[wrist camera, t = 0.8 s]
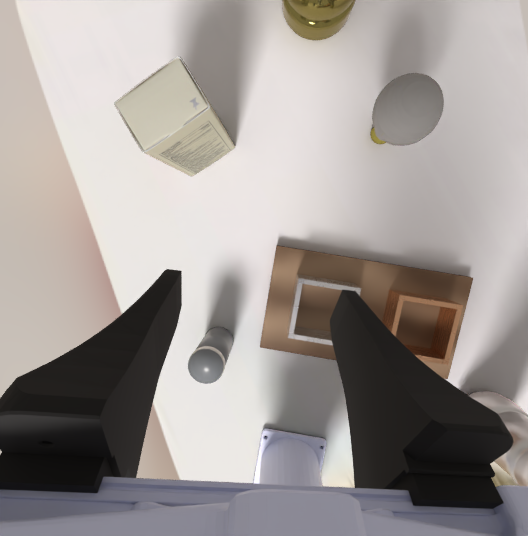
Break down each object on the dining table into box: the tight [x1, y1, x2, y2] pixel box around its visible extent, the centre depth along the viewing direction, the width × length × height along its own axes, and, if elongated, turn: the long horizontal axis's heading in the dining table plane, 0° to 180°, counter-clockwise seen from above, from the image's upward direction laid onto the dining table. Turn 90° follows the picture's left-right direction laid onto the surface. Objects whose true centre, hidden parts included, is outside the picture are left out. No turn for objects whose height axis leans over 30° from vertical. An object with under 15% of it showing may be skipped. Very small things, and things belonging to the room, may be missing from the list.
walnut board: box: [260, 246, 473, 379], centre depth 36 cm, size 12×22×1 cm, turn 81°
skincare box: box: [114, 57, 235, 176], centre depth 28 cm, size 6×4×12 cm
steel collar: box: [287, 274, 361, 345], centre depth 34 cm, size 6×6×3 cm
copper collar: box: [382, 289, 463, 365], centre depth 33 cm, size 6×6×3 cm
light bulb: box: [370, 73, 444, 146], centre depth 29 cm, size 6×6×10 cm
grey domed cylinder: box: [188, 327, 233, 384], centre depth 34 cm, size 4×4×7 cm
